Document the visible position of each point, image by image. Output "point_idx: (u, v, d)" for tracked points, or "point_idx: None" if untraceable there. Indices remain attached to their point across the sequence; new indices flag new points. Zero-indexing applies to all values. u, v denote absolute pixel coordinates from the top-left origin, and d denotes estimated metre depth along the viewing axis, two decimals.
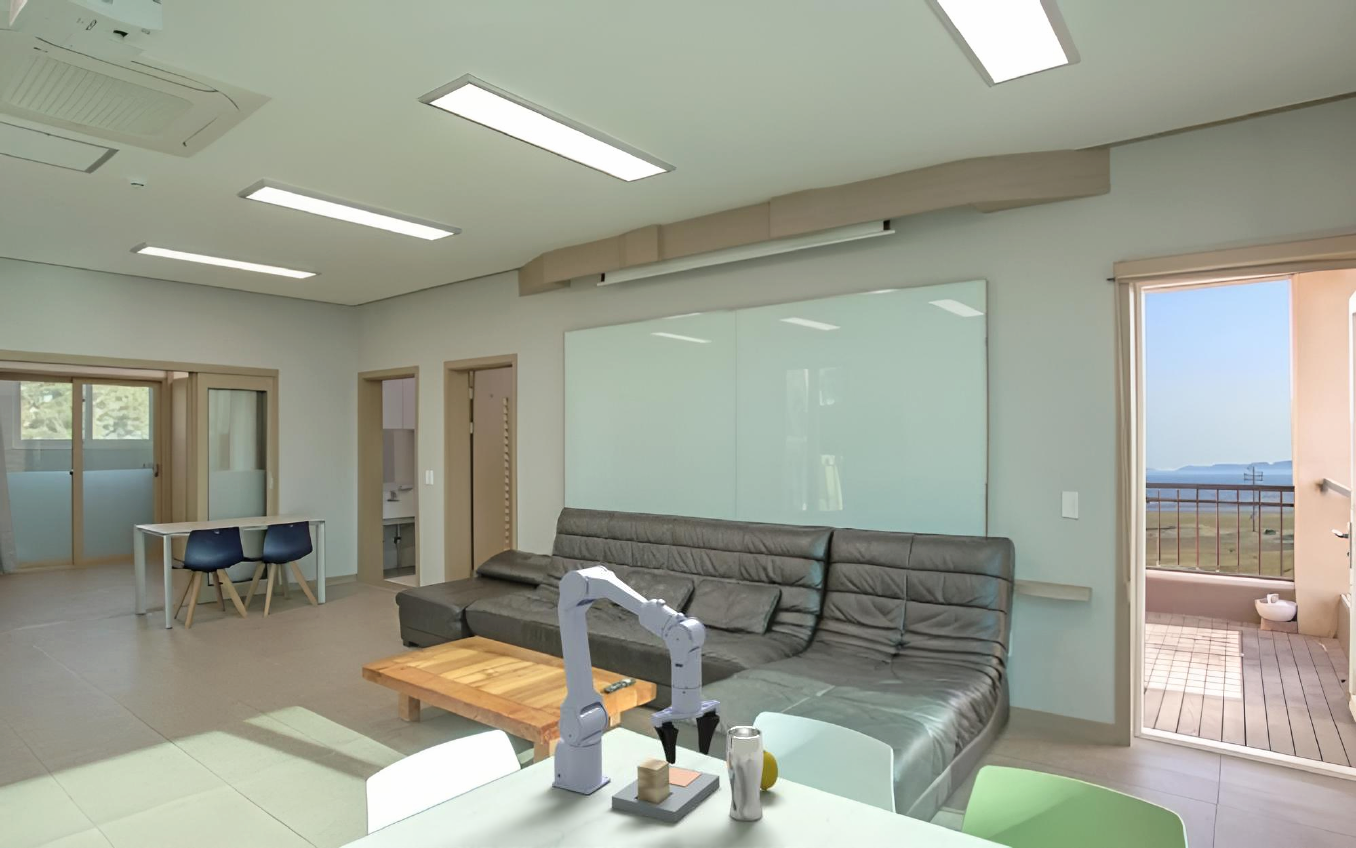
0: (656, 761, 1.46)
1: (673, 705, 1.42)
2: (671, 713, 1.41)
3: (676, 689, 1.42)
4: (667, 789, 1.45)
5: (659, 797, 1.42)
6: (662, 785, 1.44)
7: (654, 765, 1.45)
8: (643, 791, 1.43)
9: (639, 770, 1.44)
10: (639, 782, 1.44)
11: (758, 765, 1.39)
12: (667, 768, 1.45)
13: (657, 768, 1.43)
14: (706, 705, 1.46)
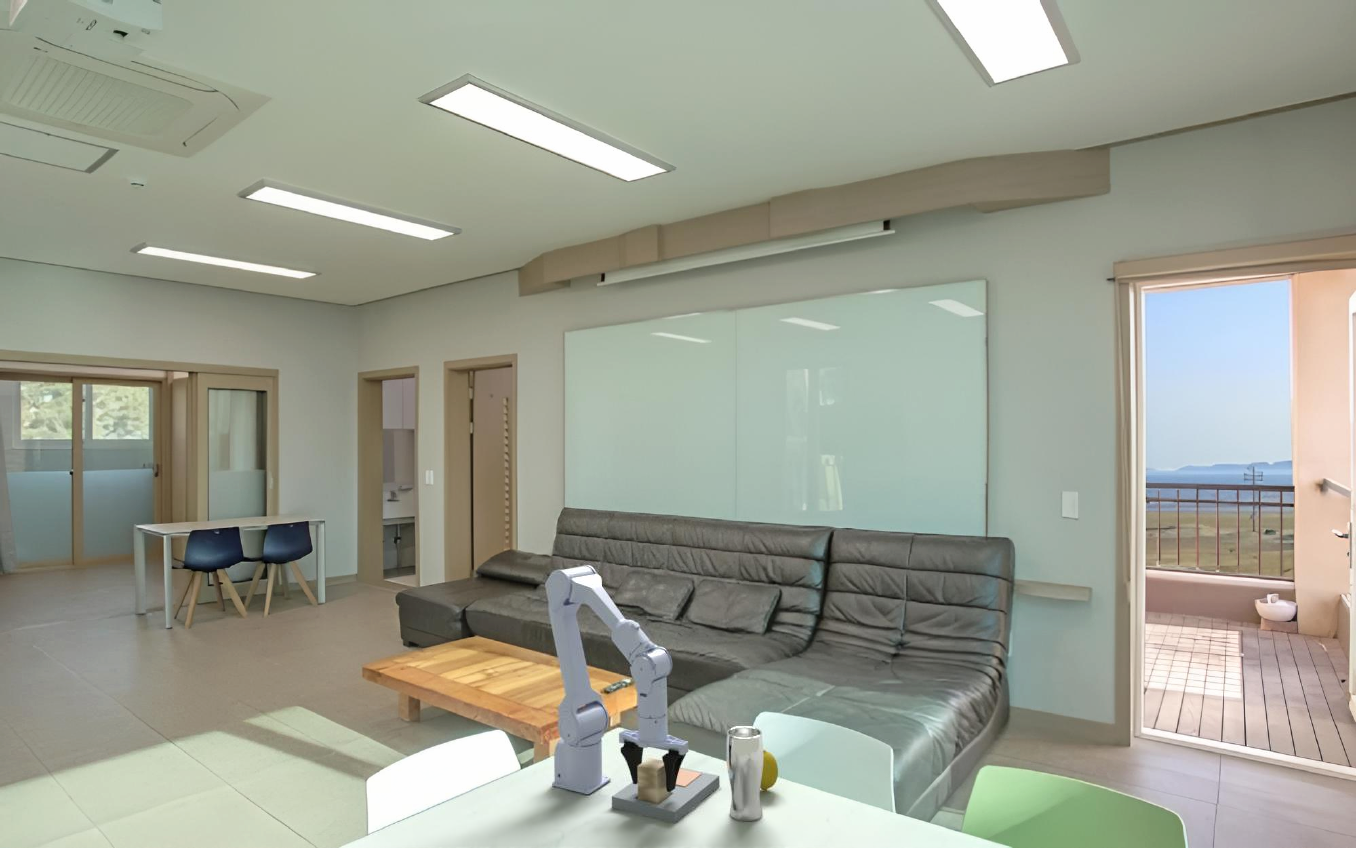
0: (656, 761, 1.46)
1: None
2: (636, 735, 1.47)
3: None
4: None
5: (659, 797, 1.42)
6: (662, 785, 1.44)
7: (654, 764, 1.45)
8: (643, 791, 1.43)
9: (639, 770, 1.44)
10: (639, 782, 1.44)
11: (758, 765, 1.39)
12: None
13: (657, 768, 1.43)
14: None
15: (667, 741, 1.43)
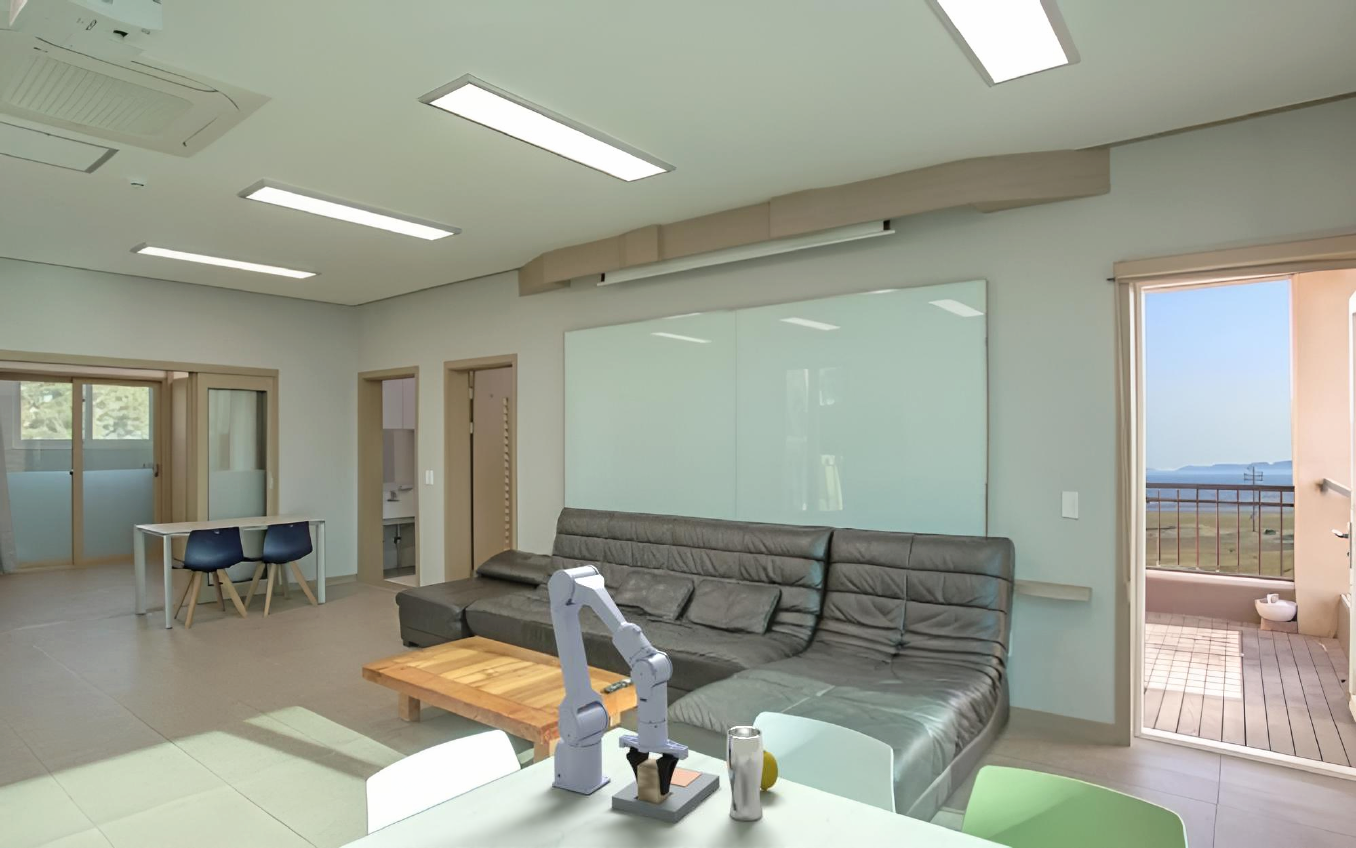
0: None
1: None
2: (636, 740, 1.47)
3: None
4: None
5: (659, 797, 1.42)
6: None
7: (654, 764, 1.45)
8: (643, 791, 1.43)
9: (639, 770, 1.44)
10: (639, 782, 1.44)
11: (758, 765, 1.39)
12: None
13: (657, 768, 1.43)
14: (671, 747, 1.43)
15: (667, 746, 1.43)
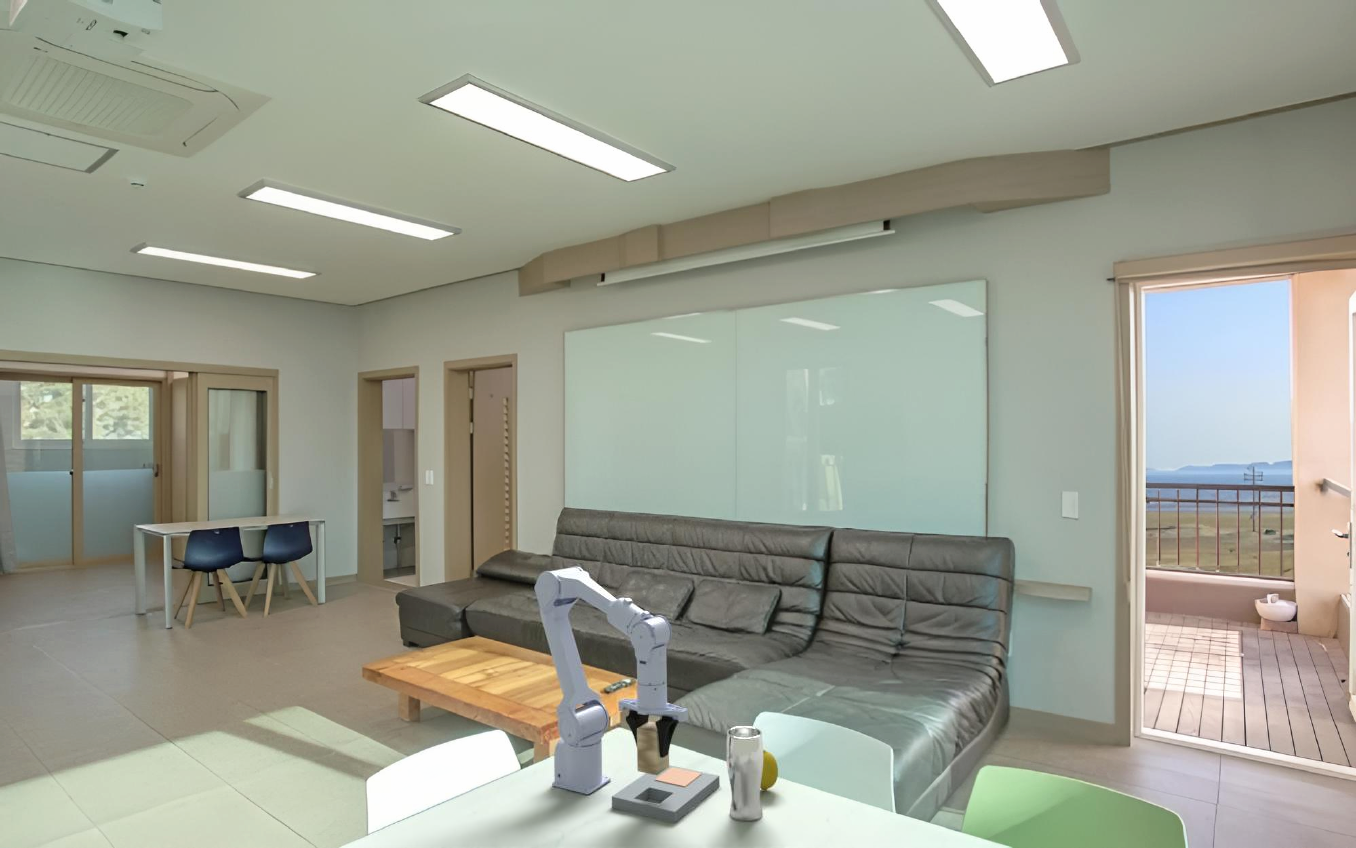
0: (655, 724, 1.47)
1: None
2: (635, 703, 1.47)
3: None
4: None
5: (658, 759, 1.43)
6: None
7: (653, 727, 1.45)
8: (643, 753, 1.44)
9: (638, 732, 1.44)
10: (638, 744, 1.44)
11: (758, 765, 1.39)
12: None
13: None
14: None
15: (666, 708, 1.44)
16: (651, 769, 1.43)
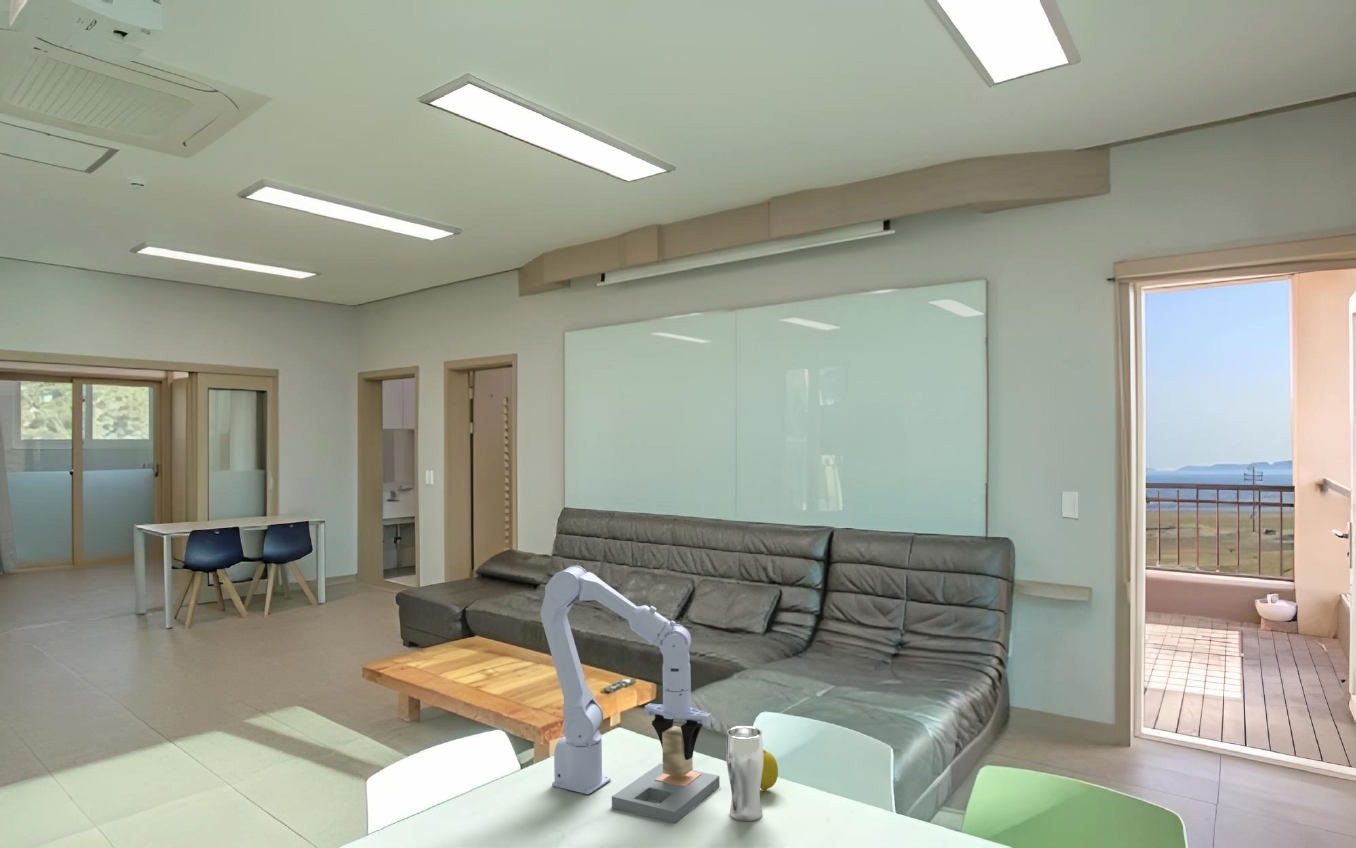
0: (679, 728, 1.54)
1: None
2: (661, 708, 1.55)
3: None
4: None
5: (683, 762, 1.50)
6: None
7: (678, 731, 1.53)
8: (668, 756, 1.52)
9: (664, 737, 1.52)
10: (664, 748, 1.52)
11: (758, 765, 1.39)
12: None
13: (681, 735, 1.51)
14: (695, 714, 1.51)
15: (691, 713, 1.52)
16: (676, 771, 1.51)
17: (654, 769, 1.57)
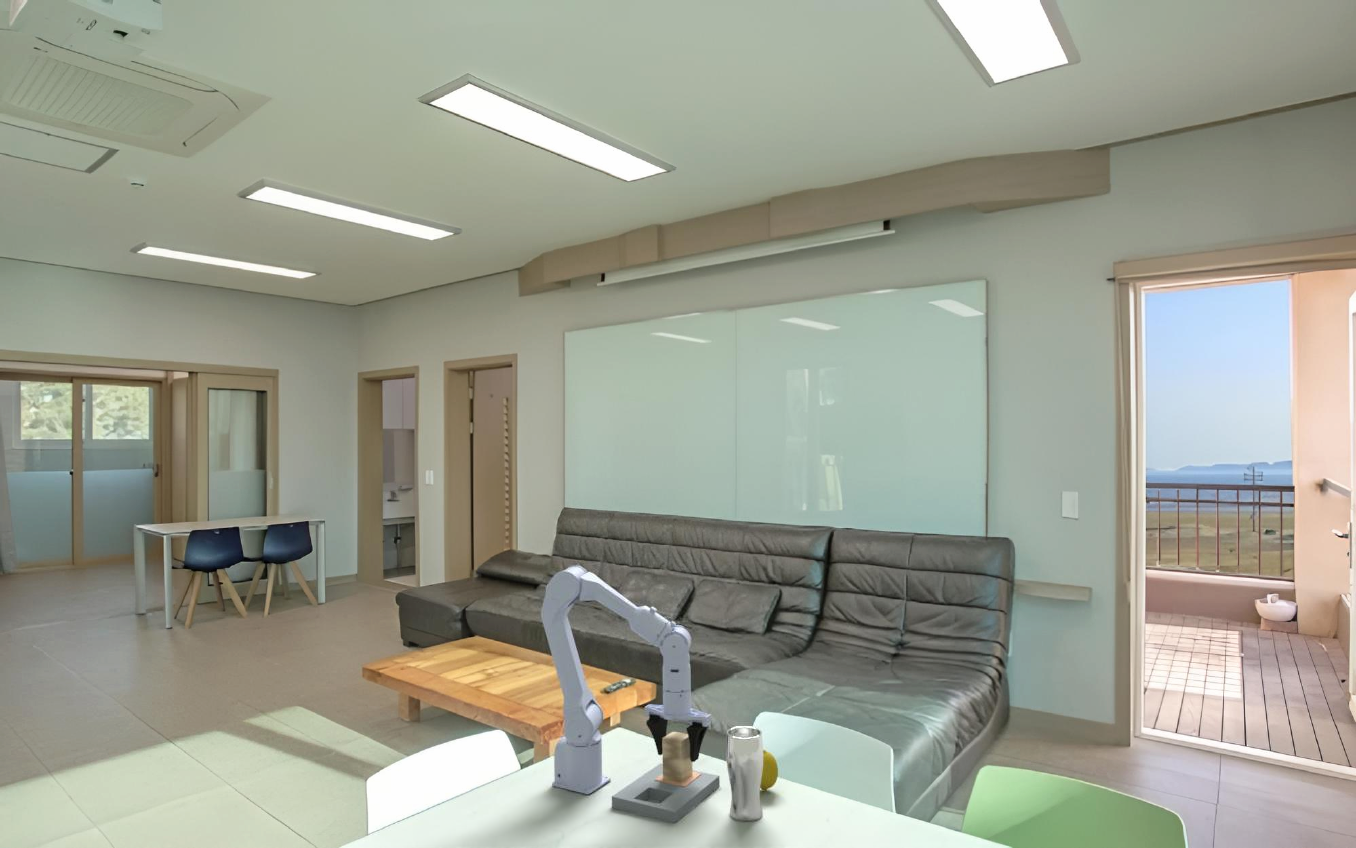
0: (679, 734, 1.54)
1: None
2: (661, 709, 1.55)
3: None
4: (690, 760, 1.53)
5: (683, 768, 1.50)
6: (686, 756, 1.52)
7: (678, 737, 1.53)
8: (668, 762, 1.51)
9: (664, 742, 1.52)
10: (664, 753, 1.52)
11: (758, 765, 1.39)
12: None
13: (681, 740, 1.51)
14: (695, 715, 1.51)
15: (691, 714, 1.52)
16: (676, 777, 1.50)
17: (654, 769, 1.57)
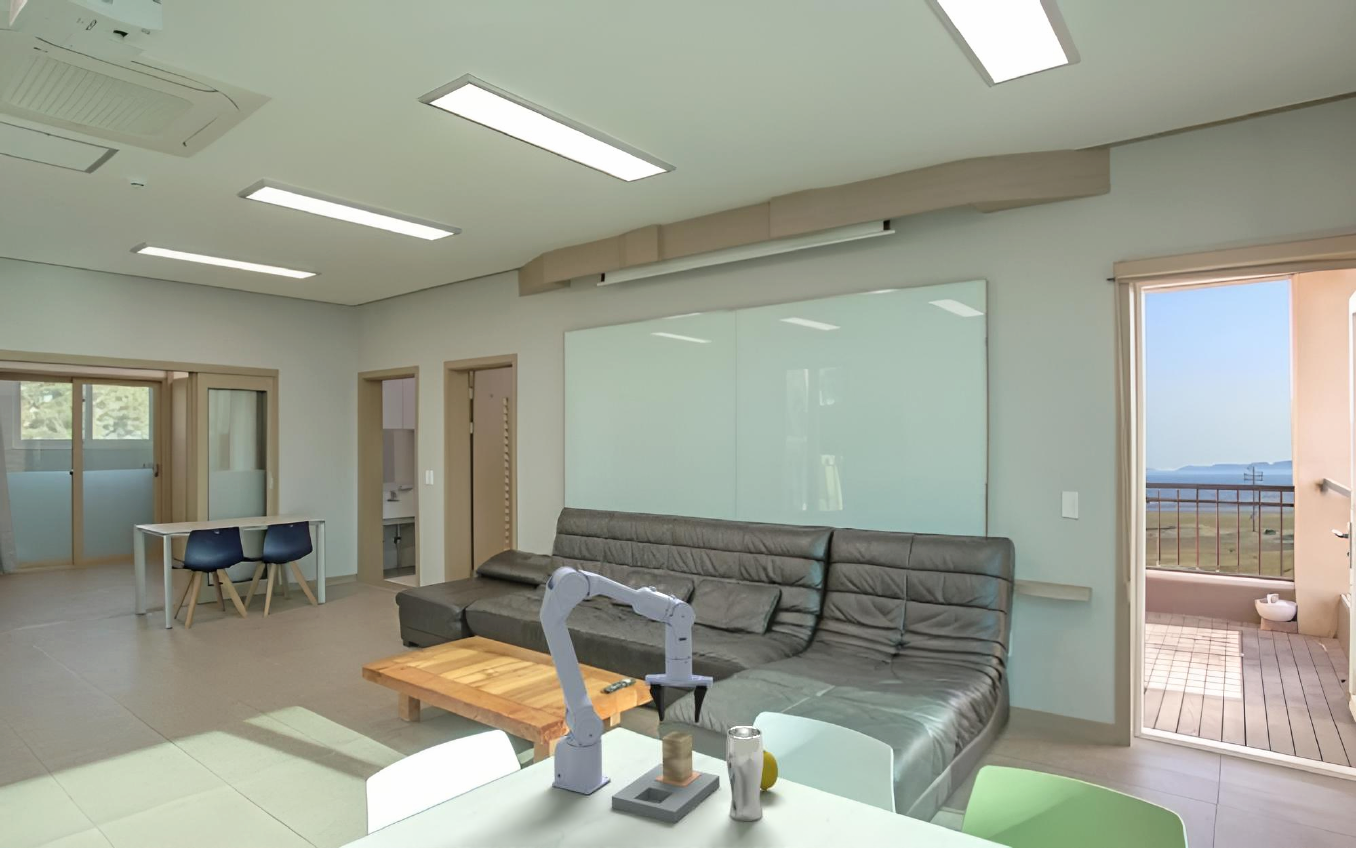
0: (679, 734, 1.54)
1: None
2: (662, 677, 1.64)
3: None
4: (690, 760, 1.53)
5: (683, 768, 1.50)
6: (686, 756, 1.52)
7: (678, 737, 1.53)
8: (668, 762, 1.51)
9: (664, 742, 1.52)
10: (664, 753, 1.52)
11: (758, 765, 1.39)
12: (690, 741, 1.53)
13: (681, 740, 1.51)
14: (698, 679, 1.62)
15: (694, 679, 1.63)
16: (676, 777, 1.50)
17: (654, 769, 1.57)
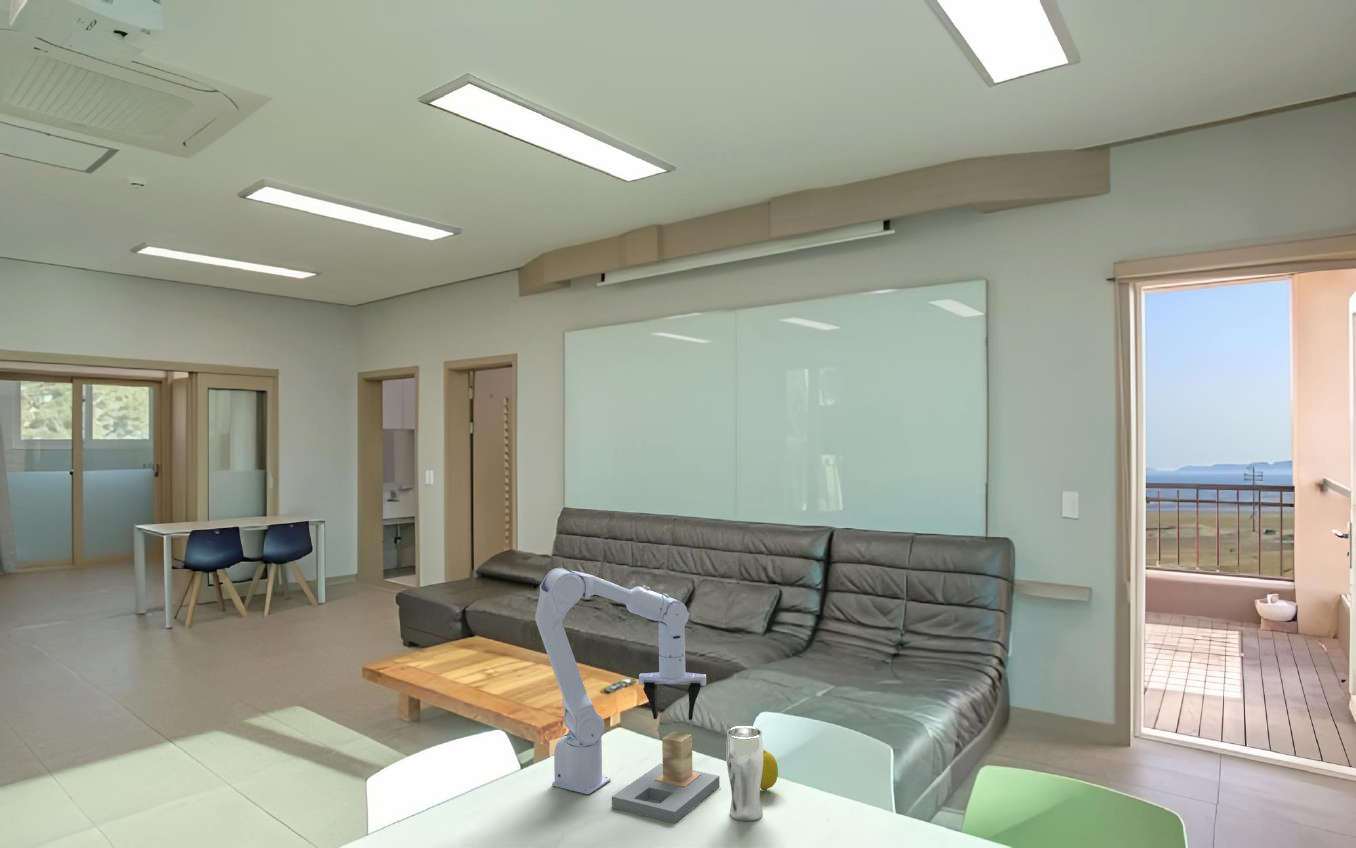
0: (679, 734, 1.54)
1: None
2: (655, 676, 1.64)
3: (659, 656, 1.64)
4: (690, 760, 1.53)
5: (683, 768, 1.50)
6: (686, 756, 1.52)
7: (678, 737, 1.53)
8: (668, 762, 1.51)
9: (664, 742, 1.52)
10: (664, 753, 1.52)
11: (758, 765, 1.39)
12: (690, 741, 1.53)
13: (681, 740, 1.51)
14: (692, 676, 1.63)
15: (687, 676, 1.64)
16: (676, 777, 1.50)
17: (654, 769, 1.57)
